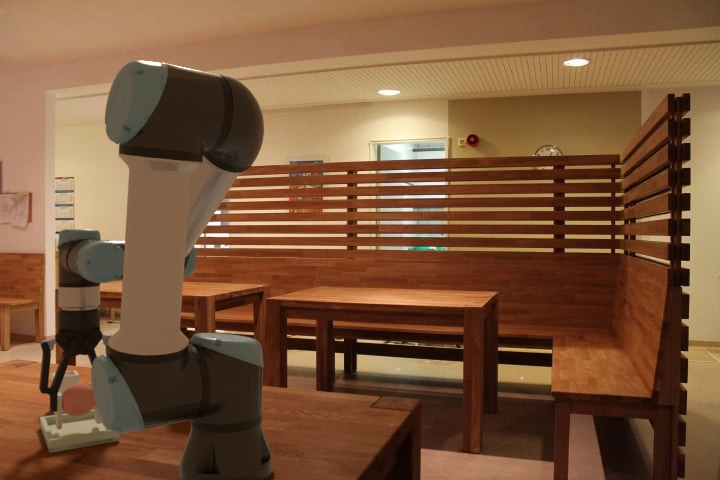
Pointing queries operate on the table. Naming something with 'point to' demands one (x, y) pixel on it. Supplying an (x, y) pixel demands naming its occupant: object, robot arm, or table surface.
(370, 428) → the table surface
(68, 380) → the hollow square tube
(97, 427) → the tray
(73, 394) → the ball
